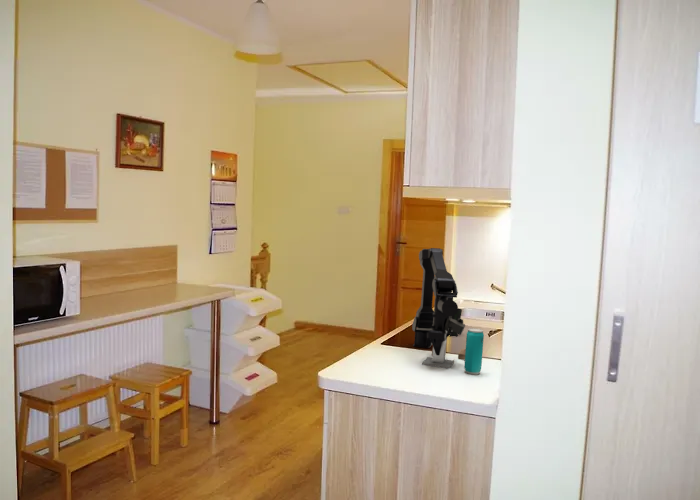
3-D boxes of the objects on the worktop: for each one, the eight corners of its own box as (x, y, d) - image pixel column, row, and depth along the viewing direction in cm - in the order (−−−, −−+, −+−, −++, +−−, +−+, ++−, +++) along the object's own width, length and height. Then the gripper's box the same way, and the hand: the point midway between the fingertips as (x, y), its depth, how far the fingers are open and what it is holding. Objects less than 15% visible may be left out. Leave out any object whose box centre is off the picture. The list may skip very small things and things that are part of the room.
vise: (431, 355, 221) (432, 350, 221) (436, 350, 230) (436, 345, 229) (478, 361, 215) (478, 356, 215) (481, 356, 224) (481, 351, 224)
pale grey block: (432, 361, 208) (433, 339, 208) (434, 359, 212) (435, 337, 212) (443, 363, 207) (444, 341, 207) (445, 360, 211) (446, 338, 210)
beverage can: (481, 371, 202) (485, 329, 201) (479, 376, 196) (483, 332, 195) (465, 369, 203) (468, 327, 202) (462, 373, 198) (466, 330, 197)
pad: (421, 364, 207) (421, 362, 207) (427, 358, 216) (427, 356, 216) (449, 368, 203) (449, 366, 203) (454, 362, 213) (454, 360, 213)
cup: (462, 335, 262) (464, 309, 261) (456, 338, 256) (458, 311, 255) (446, 332, 266) (448, 306, 265) (440, 335, 260) (441, 308, 259)
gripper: (460, 318, 197) (457, 363, 198) (468, 310, 215) (465, 351, 216) (428, 314, 201) (425, 358, 202) (438, 306, 218) (435, 347, 219)
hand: (438, 353), depth 210 cm, fingers closed on pale grey block, 4 cm apart
